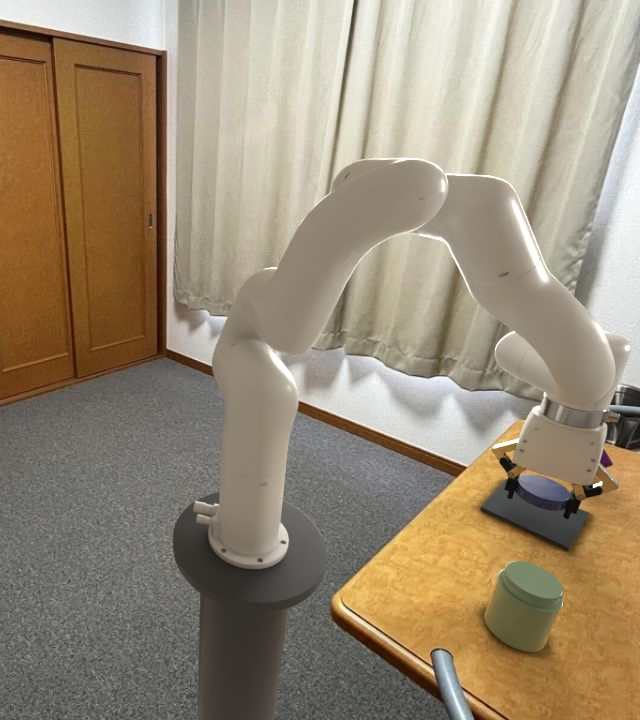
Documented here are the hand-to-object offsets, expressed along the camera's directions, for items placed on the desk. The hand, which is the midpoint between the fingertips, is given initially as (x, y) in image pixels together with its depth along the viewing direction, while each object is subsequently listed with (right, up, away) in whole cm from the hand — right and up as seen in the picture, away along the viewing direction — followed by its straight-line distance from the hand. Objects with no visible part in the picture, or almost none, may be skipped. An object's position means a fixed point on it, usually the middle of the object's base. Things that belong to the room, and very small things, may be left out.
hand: (537, 503), depth 79 cm
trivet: (0, -2, +1) cm, 2 cm away
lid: (0, +3, -1) cm, 3 cm away
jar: (-18, -10, -18) cm, 28 cm away
